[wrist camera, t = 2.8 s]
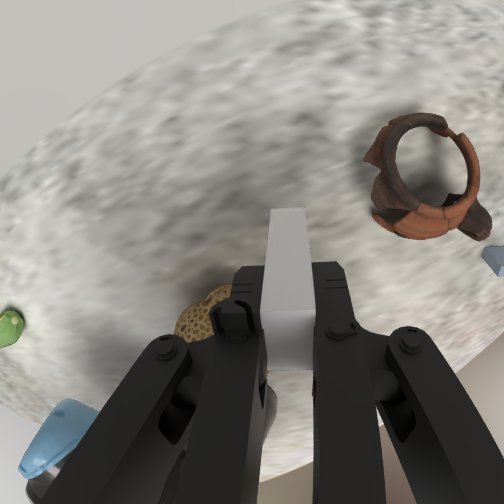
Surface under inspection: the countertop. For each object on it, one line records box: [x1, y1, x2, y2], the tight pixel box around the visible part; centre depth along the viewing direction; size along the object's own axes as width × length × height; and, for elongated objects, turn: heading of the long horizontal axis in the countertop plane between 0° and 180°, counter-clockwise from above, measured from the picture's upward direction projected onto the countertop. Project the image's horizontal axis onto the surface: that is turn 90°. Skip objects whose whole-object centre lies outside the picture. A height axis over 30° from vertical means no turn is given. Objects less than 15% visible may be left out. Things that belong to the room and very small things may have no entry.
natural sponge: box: [174, 284, 269, 376], centre depth 27 cm, size 9×9×10 cm
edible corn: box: [0, 310, 23, 348], centre depth 38 cm, size 5×20×5 cm
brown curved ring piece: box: [363, 113, 492, 241], centre depth 20 cm, size 12×10×8 cm
